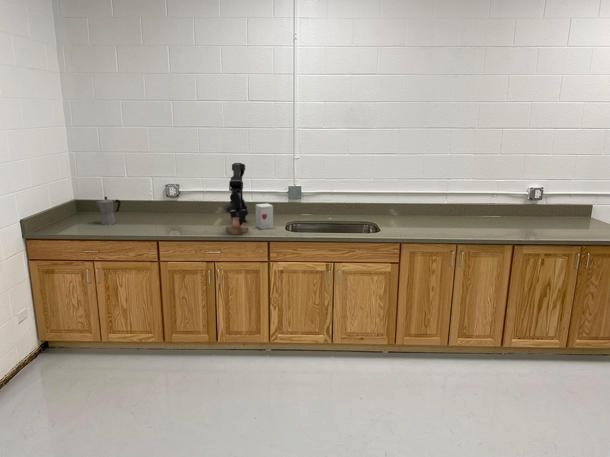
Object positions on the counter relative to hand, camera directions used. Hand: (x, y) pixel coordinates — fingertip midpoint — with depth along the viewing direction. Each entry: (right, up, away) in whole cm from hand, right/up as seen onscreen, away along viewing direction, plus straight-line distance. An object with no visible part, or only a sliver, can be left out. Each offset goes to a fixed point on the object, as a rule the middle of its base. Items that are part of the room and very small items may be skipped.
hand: (237, 223), depth 288 cm
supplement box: (+16, -2, +13) cm, 21 cm away
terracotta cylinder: (0, -2, 0) cm, 2 cm away
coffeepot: (-87, 0, +19) cm, 89 cm away
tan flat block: (0, -5, +1) cm, 5 cm away
